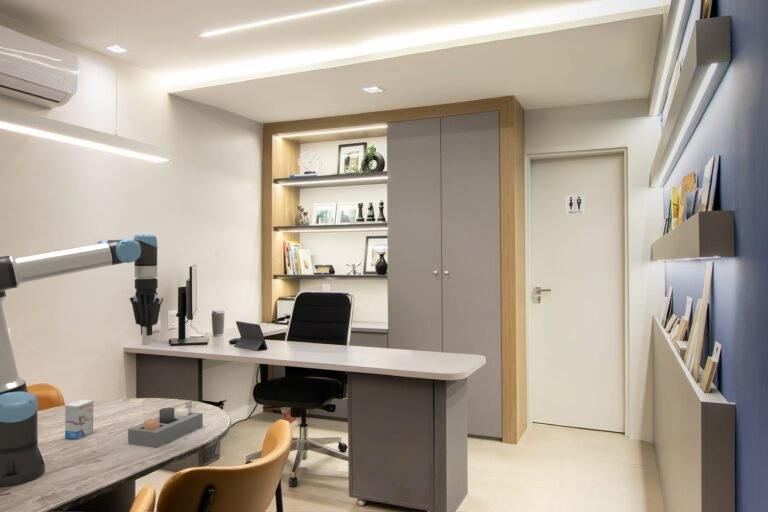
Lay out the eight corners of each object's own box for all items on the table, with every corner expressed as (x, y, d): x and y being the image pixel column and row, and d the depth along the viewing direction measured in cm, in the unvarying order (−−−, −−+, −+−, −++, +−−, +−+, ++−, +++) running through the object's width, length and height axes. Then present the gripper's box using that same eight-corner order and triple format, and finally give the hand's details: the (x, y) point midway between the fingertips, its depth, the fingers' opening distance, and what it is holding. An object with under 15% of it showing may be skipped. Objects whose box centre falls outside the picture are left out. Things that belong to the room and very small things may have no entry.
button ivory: (182, 428, 206) (182, 412, 206) (171, 427, 208) (170, 410, 207) (191, 424, 211) (191, 408, 210) (180, 423, 212) (180, 407, 212)
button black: (167, 429, 199) (167, 412, 199) (156, 427, 200) (156, 410, 200) (177, 424, 203) (177, 408, 203) (166, 423, 205) (166, 407, 205)
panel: (156, 447, 189) (156, 432, 189) (128, 443, 193) (128, 429, 193) (202, 426, 211) (202, 413, 211) (176, 423, 215) (176, 410, 215)
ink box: (77, 439, 197) (76, 405, 197) (64, 438, 198) (64, 405, 198) (94, 431, 206) (93, 399, 205) (82, 431, 207) (81, 398, 206)
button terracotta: (152, 441, 192) (152, 424, 192) (140, 440, 193) (140, 422, 193) (162, 437, 196) (162, 419, 196) (151, 435, 198) (151, 418, 198)
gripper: (168, 277, 202) (169, 343, 202) (139, 277, 206) (140, 342, 207) (153, 278, 195) (153, 347, 195) (123, 278, 199) (124, 345, 200)
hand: (146, 344), depth 201 cm, fingers closed
